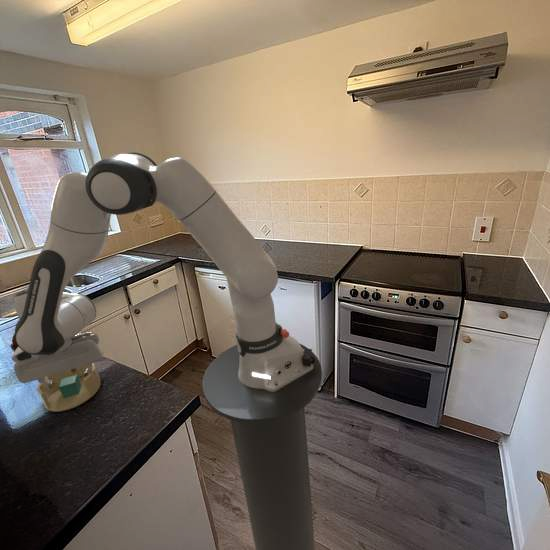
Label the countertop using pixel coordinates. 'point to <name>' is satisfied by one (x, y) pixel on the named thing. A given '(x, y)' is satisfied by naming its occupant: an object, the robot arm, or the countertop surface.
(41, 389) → the tan scoop with handle
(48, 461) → the countertop surface
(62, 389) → the block
